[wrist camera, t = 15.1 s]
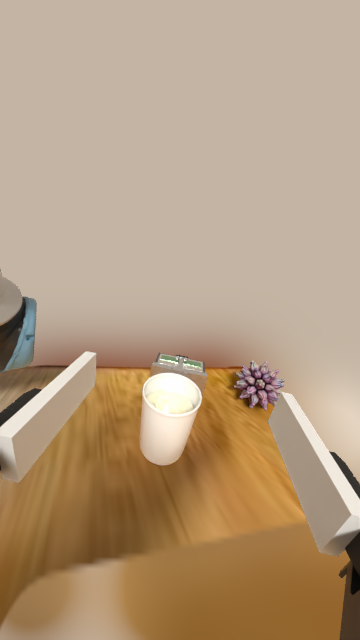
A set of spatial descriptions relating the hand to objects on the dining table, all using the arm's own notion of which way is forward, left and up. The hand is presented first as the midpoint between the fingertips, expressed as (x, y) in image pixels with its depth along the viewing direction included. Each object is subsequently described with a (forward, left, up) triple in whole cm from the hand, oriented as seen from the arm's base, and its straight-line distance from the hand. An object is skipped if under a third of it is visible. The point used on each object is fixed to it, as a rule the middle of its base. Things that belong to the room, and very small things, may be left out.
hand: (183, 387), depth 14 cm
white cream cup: (-1, +15, -25) cm, 29 cm away
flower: (+20, +31, -25) cm, 44 cm away
